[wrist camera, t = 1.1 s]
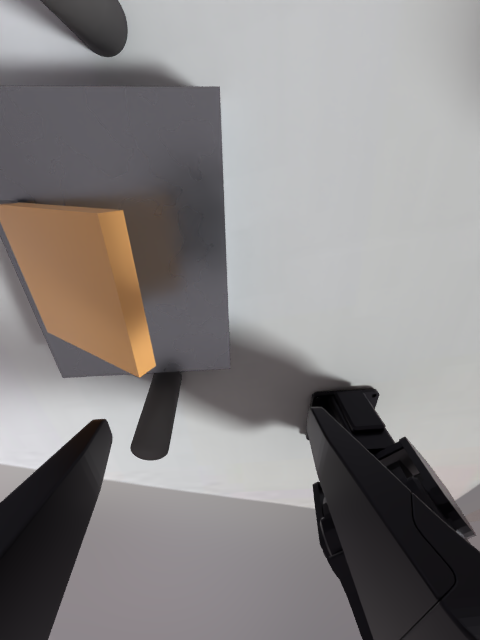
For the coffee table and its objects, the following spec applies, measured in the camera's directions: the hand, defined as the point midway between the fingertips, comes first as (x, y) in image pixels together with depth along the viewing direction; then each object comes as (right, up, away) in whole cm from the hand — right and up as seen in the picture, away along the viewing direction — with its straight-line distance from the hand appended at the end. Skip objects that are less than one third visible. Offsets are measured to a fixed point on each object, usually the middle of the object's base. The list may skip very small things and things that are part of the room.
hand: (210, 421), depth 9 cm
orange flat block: (-7, +5, +4) cm, 10 cm away
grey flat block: (-6, +8, +9) cm, 13 cm away
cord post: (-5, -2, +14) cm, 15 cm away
